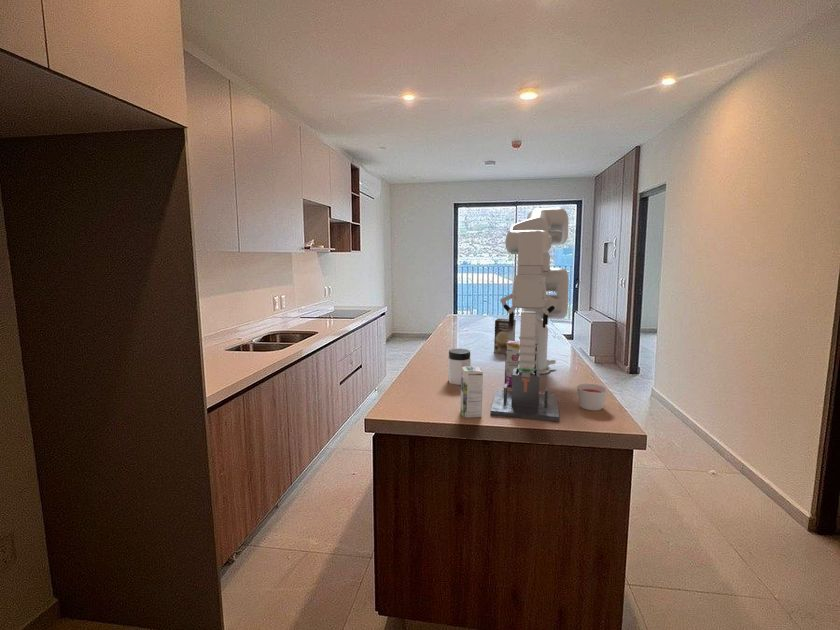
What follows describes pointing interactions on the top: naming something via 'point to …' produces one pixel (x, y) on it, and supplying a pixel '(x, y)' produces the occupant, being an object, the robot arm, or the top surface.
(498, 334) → the coffee box
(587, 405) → the candle
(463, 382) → the syrup box
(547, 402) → the stand base
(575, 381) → the top surface
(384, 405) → the top surface
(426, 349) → the top surface
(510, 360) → the candy bar box
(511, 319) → the robot arm
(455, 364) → the jar
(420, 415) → the top surface
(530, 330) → the column
